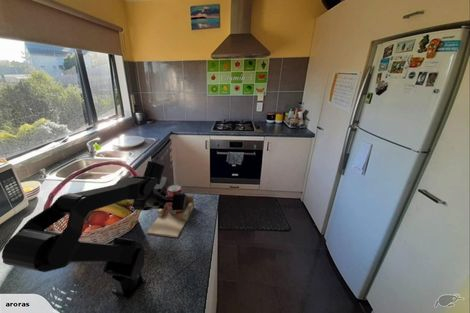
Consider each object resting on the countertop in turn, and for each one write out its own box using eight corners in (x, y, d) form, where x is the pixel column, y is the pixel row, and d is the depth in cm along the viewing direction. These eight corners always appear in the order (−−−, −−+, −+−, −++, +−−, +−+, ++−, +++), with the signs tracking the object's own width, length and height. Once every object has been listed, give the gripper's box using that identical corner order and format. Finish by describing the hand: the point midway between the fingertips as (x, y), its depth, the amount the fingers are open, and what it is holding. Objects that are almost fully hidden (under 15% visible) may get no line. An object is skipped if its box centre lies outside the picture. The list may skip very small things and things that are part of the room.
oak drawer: (177, 237, 76) (176, 223, 74) (147, 233, 78) (144, 219, 75) (193, 207, 94) (193, 195, 91) (168, 204, 95) (167, 192, 93)
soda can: (184, 205, 94) (182, 182, 90) (184, 214, 88) (183, 191, 83) (168, 207, 92) (166, 184, 88) (168, 216, 86) (165, 193, 82)
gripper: (181, 173, 69) (193, 187, 83) (130, 173, 70) (150, 186, 84) (176, 206, 64) (190, 214, 78) (121, 205, 65) (144, 213, 79)
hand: (168, 206), depth 80 cm, fingers open, 9 cm apart
